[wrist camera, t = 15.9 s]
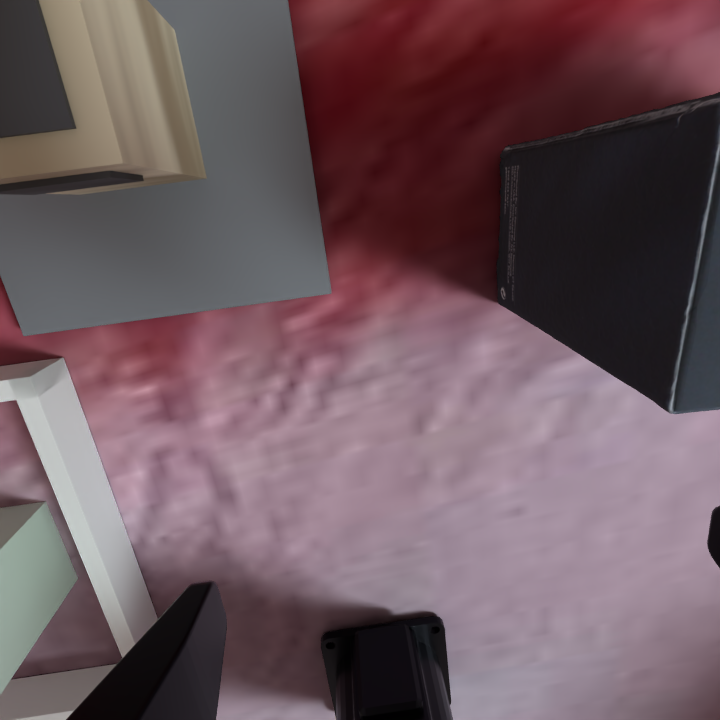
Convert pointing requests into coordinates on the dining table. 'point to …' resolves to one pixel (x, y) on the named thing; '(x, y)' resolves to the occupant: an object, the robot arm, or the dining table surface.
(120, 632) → the white square frame
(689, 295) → the small box
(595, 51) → the dining table surface
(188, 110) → the labelled block
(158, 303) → the mat
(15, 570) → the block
